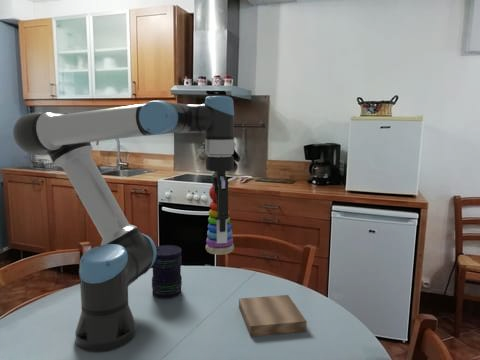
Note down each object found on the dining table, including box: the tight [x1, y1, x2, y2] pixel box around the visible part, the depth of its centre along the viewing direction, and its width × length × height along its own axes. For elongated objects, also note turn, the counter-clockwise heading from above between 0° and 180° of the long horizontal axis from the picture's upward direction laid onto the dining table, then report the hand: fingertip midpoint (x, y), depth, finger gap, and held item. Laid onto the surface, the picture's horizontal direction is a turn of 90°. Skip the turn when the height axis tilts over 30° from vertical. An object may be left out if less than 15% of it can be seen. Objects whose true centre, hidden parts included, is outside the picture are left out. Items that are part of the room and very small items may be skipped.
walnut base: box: [238, 294, 308, 337], centre depth 108 cm, size 16×16×3 cm
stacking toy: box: [205, 185, 235, 256], centre depth 100 cm, size 8×8×19 cm
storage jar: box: [151, 244, 183, 300], centre depth 123 cm, size 10×10×15 cm
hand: (219, 238), depth 101 cm, fingers closed on stacking toy, 7 cm apart
